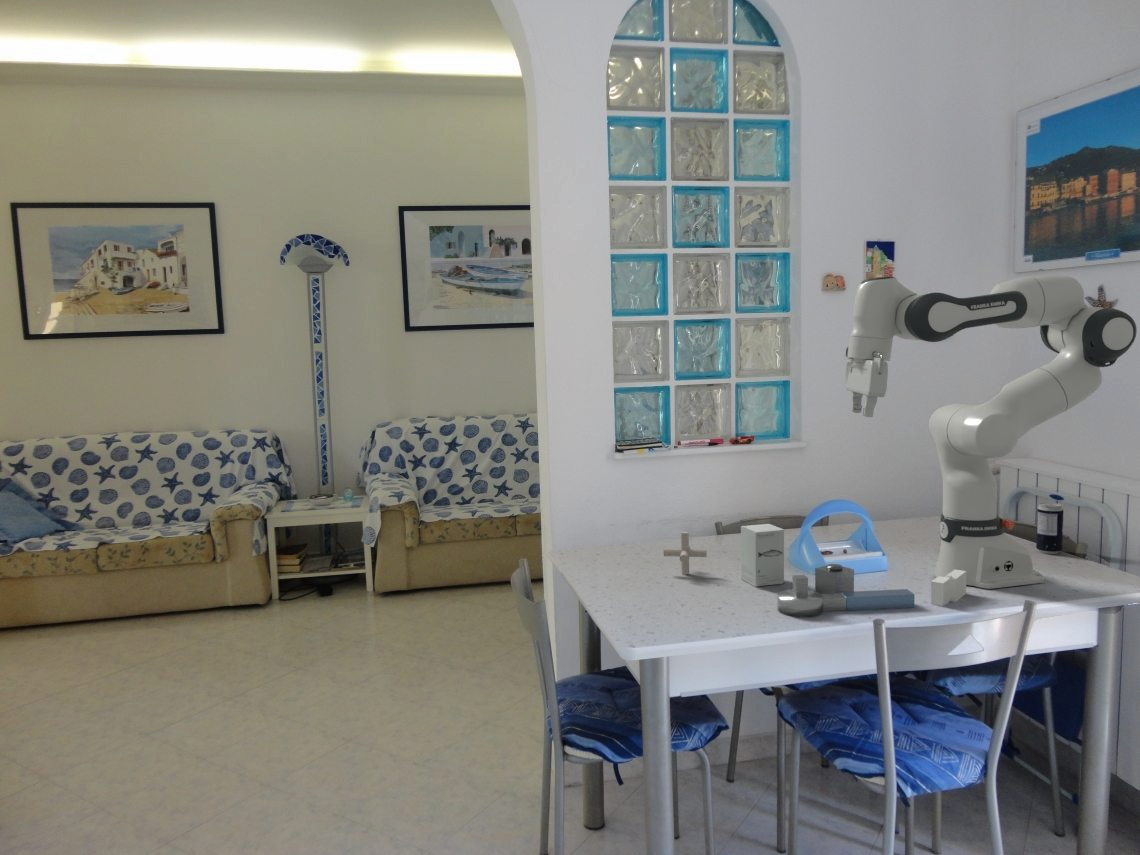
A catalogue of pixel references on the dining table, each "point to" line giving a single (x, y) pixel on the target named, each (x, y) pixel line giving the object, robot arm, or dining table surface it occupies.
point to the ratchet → (838, 600)
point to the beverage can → (1049, 528)
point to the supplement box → (762, 554)
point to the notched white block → (948, 587)
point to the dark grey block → (834, 579)
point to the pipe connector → (685, 552)
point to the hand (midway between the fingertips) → (861, 414)
